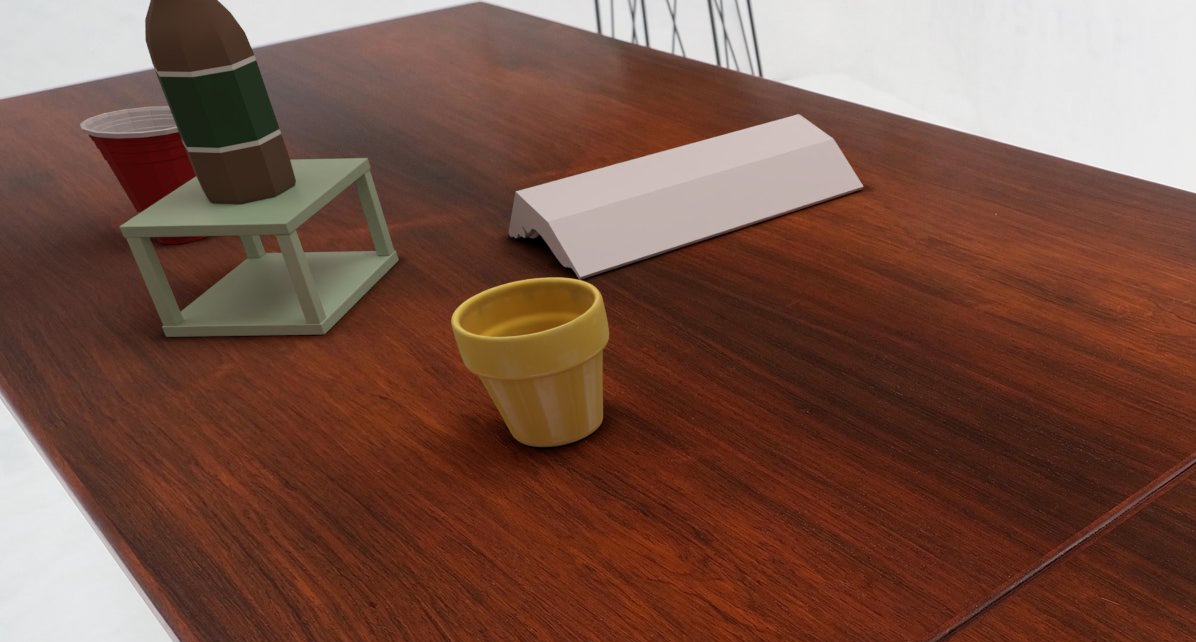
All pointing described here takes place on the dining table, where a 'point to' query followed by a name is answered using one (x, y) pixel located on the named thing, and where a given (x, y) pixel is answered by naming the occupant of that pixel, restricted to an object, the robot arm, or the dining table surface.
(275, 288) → the rack
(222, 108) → the beer bottle
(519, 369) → the flower pot
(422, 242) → the dining table surface
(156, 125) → the plastic cup
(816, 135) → the molding piece
